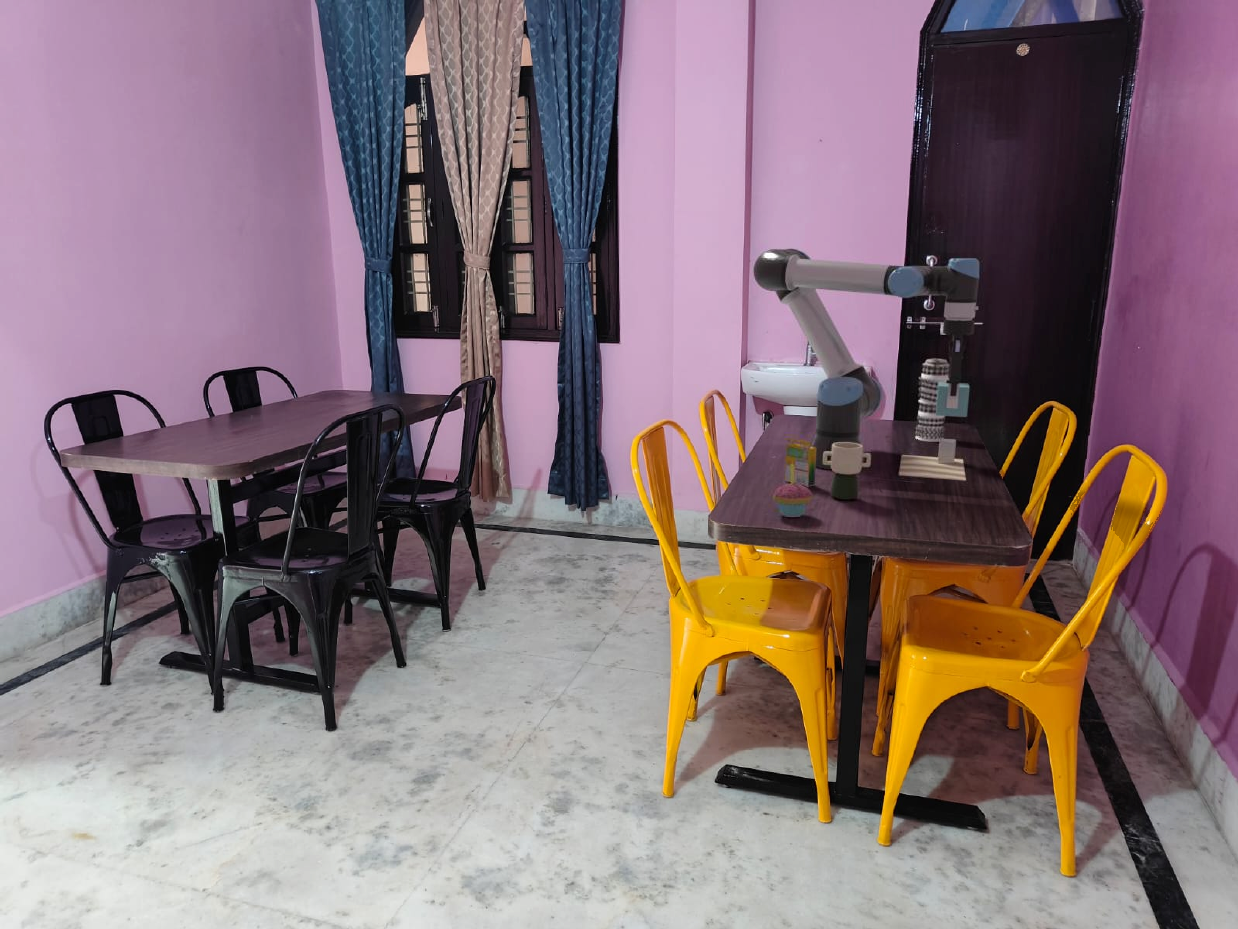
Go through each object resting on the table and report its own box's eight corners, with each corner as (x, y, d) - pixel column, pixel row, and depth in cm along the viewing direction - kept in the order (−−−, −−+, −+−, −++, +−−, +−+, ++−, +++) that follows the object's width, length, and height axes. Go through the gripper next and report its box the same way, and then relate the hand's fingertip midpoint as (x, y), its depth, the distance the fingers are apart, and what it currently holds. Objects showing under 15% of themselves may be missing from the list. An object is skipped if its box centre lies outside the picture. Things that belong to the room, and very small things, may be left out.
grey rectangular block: (953, 464, 227) (955, 442, 225) (937, 463, 228) (939, 441, 227) (953, 461, 231) (955, 439, 229) (937, 459, 232) (939, 438, 230)
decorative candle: (913, 435, 271) (920, 357, 265) (944, 437, 268) (951, 358, 262) (913, 440, 263) (920, 360, 257) (945, 442, 260) (952, 361, 254)
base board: (965, 486, 211) (965, 480, 211) (898, 480, 216) (898, 475, 216) (962, 464, 233) (962, 459, 232) (901, 460, 238) (901, 454, 238)
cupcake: (768, 510, 192) (770, 458, 189) (805, 509, 192) (808, 458, 189) (778, 521, 183) (780, 468, 180) (816, 520, 184) (819, 467, 181)
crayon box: (815, 485, 212) (817, 440, 209) (807, 487, 210) (810, 442, 207) (791, 479, 217) (793, 435, 215) (784, 481, 215) (786, 437, 213)
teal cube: (966, 417, 221) (969, 387, 220) (935, 415, 224) (938, 386, 222) (965, 412, 228) (968, 383, 226) (935, 410, 231) (938, 382, 229)
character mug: (867, 495, 203) (870, 442, 200) (868, 504, 196) (872, 449, 193) (820, 493, 205) (823, 440, 202) (820, 501, 199) (823, 447, 195)
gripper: (976, 322, 210) (968, 412, 215) (973, 316, 228) (965, 400, 234) (944, 321, 212) (936, 411, 217) (943, 316, 231) (936, 398, 236)
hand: (951, 405), depth 226 cm, fingers closed on teal cube, 8 cm apart
